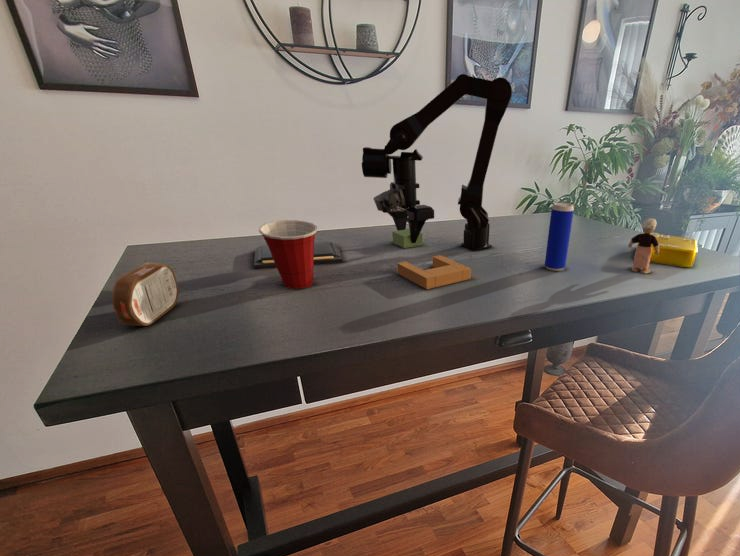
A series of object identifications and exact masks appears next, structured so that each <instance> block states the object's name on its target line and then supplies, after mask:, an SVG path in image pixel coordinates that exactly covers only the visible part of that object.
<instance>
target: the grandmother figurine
mask: <svg viewBox="0 0 740 556" xmlns="http://www.w3.org/2000/svg"><path fill="white" fill-rule="evenodd" d="M656 227H657V220H656V218H653V217H650V218H647V219H645V220H644V221H643V223H642V224H641V226H640V228H642V231H643V233H638V234H636V235H635V236H633V237H632V238H631V239H630V241H629V243H628V244H627V247H628V248H632V247H633V246H634V244H638V243H639V244H638V246H637V245H636V248H637V249H635V253H634V258H633V262H632V267H631V272H634V273H638V272H640V273H641V274H650V273H651V270H650V269H649V267H650V263H651V262H650V257H651V250H652V248H651V244H652V245H653V246H654V249H655V253H656V254H658V253H659V244H658V241H657V239H656V237H655V236H653V235H651V233H654V231H655V230H656Z"/></svg>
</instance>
